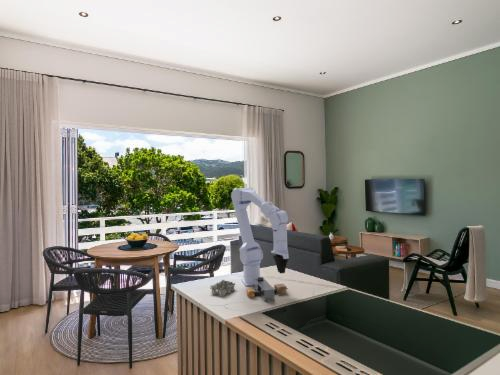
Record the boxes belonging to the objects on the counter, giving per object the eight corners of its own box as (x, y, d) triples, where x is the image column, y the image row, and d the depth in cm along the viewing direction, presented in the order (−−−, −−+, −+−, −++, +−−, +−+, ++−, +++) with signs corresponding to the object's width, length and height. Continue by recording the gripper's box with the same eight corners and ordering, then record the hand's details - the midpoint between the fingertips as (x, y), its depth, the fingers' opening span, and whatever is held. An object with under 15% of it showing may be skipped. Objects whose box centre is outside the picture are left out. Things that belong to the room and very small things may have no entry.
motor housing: (255, 289, 150) (254, 276, 150) (263, 288, 151) (263, 275, 150) (264, 301, 134) (264, 287, 134) (274, 300, 135) (274, 286, 135)
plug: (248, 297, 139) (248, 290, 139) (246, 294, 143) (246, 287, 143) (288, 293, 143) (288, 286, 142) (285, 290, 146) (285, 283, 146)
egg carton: (222, 297, 142) (222, 287, 142) (208, 294, 146) (208, 285, 146) (237, 289, 151) (236, 280, 151) (223, 287, 155) (223, 278, 155)
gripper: (266, 237, 150) (267, 268, 150) (276, 243, 135) (277, 278, 136) (281, 236, 151) (282, 267, 152) (293, 242, 137) (294, 276, 137)
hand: (281, 272), depth 144 cm, fingers closed
